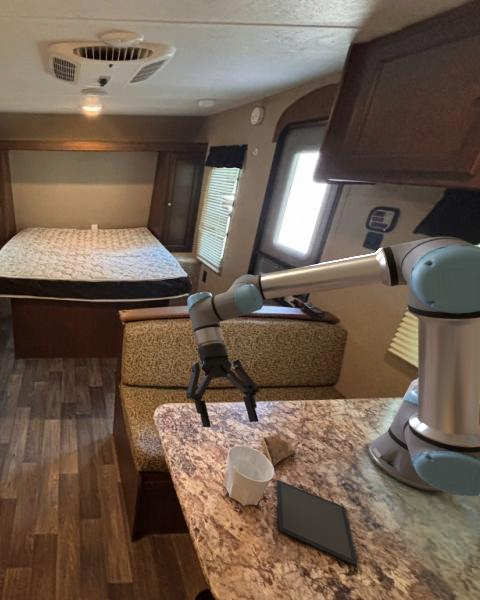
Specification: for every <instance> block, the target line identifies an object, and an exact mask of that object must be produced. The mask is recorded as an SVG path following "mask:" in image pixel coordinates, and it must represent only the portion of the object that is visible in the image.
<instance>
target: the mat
mask: <svg viewBox="0 0 480 600" xmlns="http://www.w3.org/2000/svg"><path fill="white" fill-rule="evenodd" d="M276 488H277V489H276V495H277V499H276V501H277V531H278V532H279V533H281V534H283V535H286V536H288V537H290V538H293V539H295V540H297V541H299V542H301V543H303V544H305V545H308V546H309V547H311V548H313V549H316V550H318V551H321V552H322V553H325V554H327V555H328V556H331V557H333V558H336V559H338V560H339V561H341V562H344V563H346V564H349V565H350V566H353V567H355V568H358V561H357V558H356V553H355V548H354V543H353V539H352V535H351V529H350V526H349V522H348V516H347V513H346V508H345V506H344V505H341V504H338V503H336V502H333V501H331V500H328V499H326V498H324V497H321V496H318V495H316V494H313V493H311V492H309V491H306V490H305V489H301V488H299V487H296V486H293V485H290V484H288V483H286V482H283V481H281V480H279V479H278V480H277V481H276Z"/></svg>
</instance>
